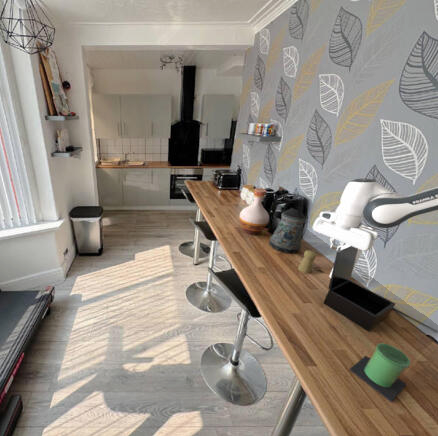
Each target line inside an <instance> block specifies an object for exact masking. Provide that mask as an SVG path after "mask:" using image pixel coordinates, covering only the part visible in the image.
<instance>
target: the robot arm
mask: <svg viewBox="0 0 438 436" xmlns="http://www.w3.org/2000/svg"><path fill="white" fill-rule="evenodd" d="M339 200H340V201H339V205H338V206H337V207H336V209H335V210H334V209H330V210H323V211H321V212H320V213H319V216H318V217H317V218H316V219H315V221H314V222H313V225H312V231H314V232H316V233H319V234H320V235H324V236H326V237H328V238H329V242H330V247H329V249H332V250H334V251H335V252H337V251H340V250H341V248H342V246H344V245H346V244H348V245H350V246H353V247H355V248H358V249H360V250H362V252H366V251H370V250H372V248H373V246H374V244H375V240H376V239H377V238H378V237H379V231H378V230H377V229H376V228H379V229H390V228H395V227H397V226H400V225H401V224H403V223H404V222H406V221H408V220H410V219H411V218H414V217H417V216H419V215H424V214H427V213H431V212H435V211H438V186H436V187H433V188H430V189H426V190H423V191H420V192H416V193H413V194H410V195H407V196H404V195H402V194H400V193H397V192H395V191H393V190H390V189H388V188H386V187H385V186H383V184H381V183H379V181H378V180H376V179H373V178H355V179H351V180H350V181H349V182H348V183H347V184H346V186H345V187H344V190H343V192H342V194H341V197H340V199H339ZM364 220H365V221H366V223H368V224H370V225H371V226H370V225H369V226H368V225H367V224H364V223H363V221H364ZM336 241H338V242H339V245H338V244H336Z"/></svg>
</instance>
